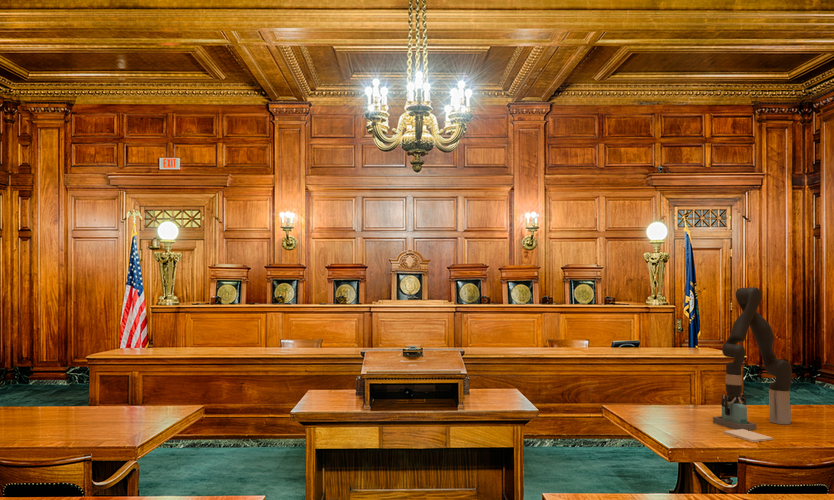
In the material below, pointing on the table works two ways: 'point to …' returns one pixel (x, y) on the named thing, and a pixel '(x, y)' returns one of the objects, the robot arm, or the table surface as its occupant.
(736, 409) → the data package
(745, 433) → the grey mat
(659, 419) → the table surface
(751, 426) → the holder box
